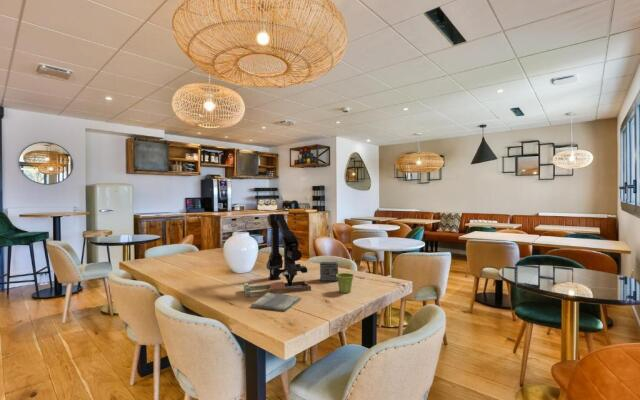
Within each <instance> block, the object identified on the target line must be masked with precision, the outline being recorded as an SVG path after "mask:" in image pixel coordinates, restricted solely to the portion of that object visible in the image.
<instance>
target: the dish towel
mask: <svg viewBox="0 0 640 400" xmlns="http://www.w3.org/2000/svg"><path fill="white" fill-rule="evenodd" d="M301 300H302V297H300V296H298V295H290V294H286V293H280V294H279V293H276V294H273V293H269V292H267V293H266V294H265V295H263V296H260V298H258V299H257V300H255V301H254V302H253V303H251V305H250V308H252V309H259V310H269V311H275V312H283V313H285V312H287V311H288V310H289V309H291V308H293V307H294V306H295V305H296V304H298V303H299V302H300V301H301Z"/></svg>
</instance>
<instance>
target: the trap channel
mask: <svg viewBox="0 0 640 400" xmlns="http://www.w3.org/2000/svg"><path fill="white" fill-rule="evenodd" d="M284 284H285V289H277V290H270V283H269V284H259V285H249V283H248V282H244V283H243V292H244V295H245V298H252V297H254V298H255V297H259V296H260V297H262V296H264V295H265V294H266V293H267V292H269V293H273V294H276V293H279V294H286V293H296V292H305V291H306V292H307V291H312V286H311V285H310V284H309V283H308V282H307V281H306V280H300V281H292V284H291V286H289V285H288V282H287V281H286V282H284ZM268 289H269V290H268ZM258 290H259V291H258Z"/></svg>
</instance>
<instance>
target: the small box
mask: <svg viewBox="0 0 640 400" xmlns="http://www.w3.org/2000/svg"><path fill="white" fill-rule="evenodd" d="M319 269H320V270H319V275H320V277H319V278H320V279H319V280H320V281H321V283H322V282H326V283H327V282H335V283H336V282H337V283H338V279H337V276H336V275H337V274H339V262H338V261H331V262H330V261H323V262H322V261H321V262H320V263H319ZM320 281H319V282H320Z"/></svg>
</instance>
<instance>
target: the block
mask: <svg viewBox="0 0 640 400" xmlns="http://www.w3.org/2000/svg"><path fill="white" fill-rule="evenodd" d="M284 283H285V282H284V281H281V280H280V281H270V282H269V284H270V288H269V290H277V289H286V288H285V284H284Z"/></svg>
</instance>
